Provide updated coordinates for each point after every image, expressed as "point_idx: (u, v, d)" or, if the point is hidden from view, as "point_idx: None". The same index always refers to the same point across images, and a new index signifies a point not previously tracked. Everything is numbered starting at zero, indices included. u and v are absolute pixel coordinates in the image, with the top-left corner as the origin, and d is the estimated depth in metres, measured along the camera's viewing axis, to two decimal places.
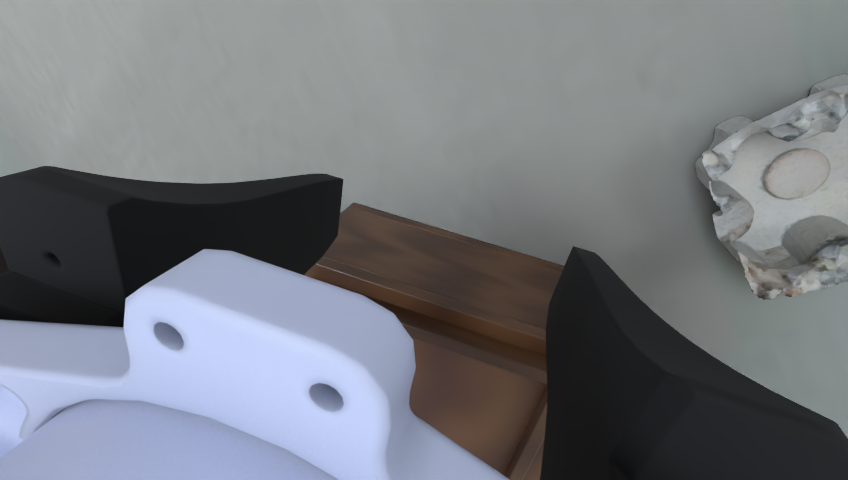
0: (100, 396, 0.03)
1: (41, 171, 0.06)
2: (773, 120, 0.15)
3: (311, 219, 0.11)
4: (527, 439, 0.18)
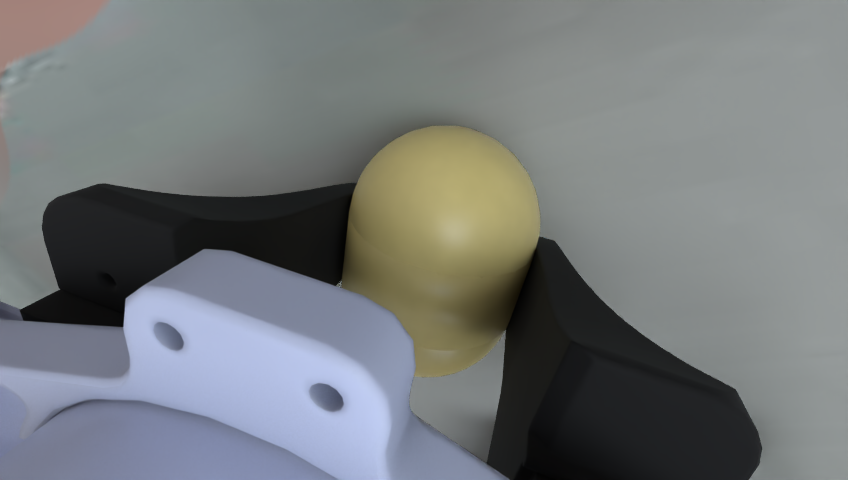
0: (100, 396, 0.03)
1: (99, 190, 0.06)
2: None
3: (345, 230, 0.11)
4: None
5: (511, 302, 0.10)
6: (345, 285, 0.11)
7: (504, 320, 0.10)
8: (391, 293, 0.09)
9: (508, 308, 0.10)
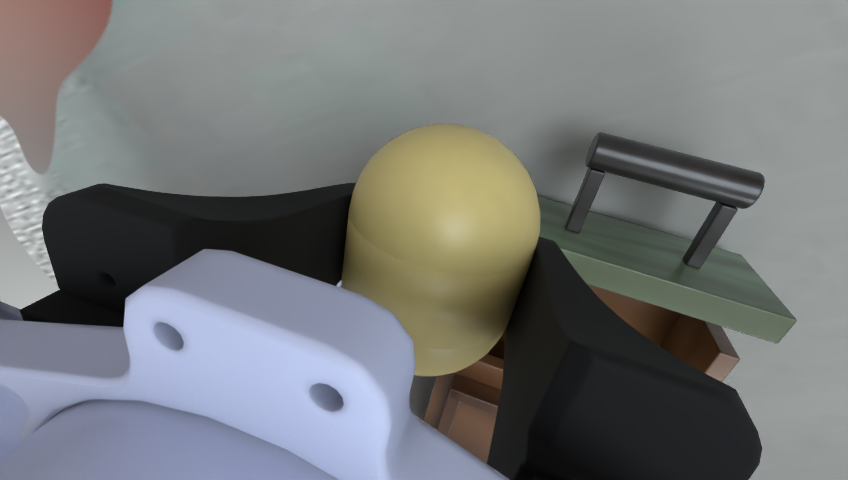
0: (100, 396, 0.03)
1: (99, 190, 0.06)
2: None
3: (345, 230, 0.11)
4: None
5: (511, 301, 0.10)
6: (345, 284, 0.11)
7: (504, 319, 0.10)
8: (391, 292, 0.09)
9: (508, 307, 0.10)
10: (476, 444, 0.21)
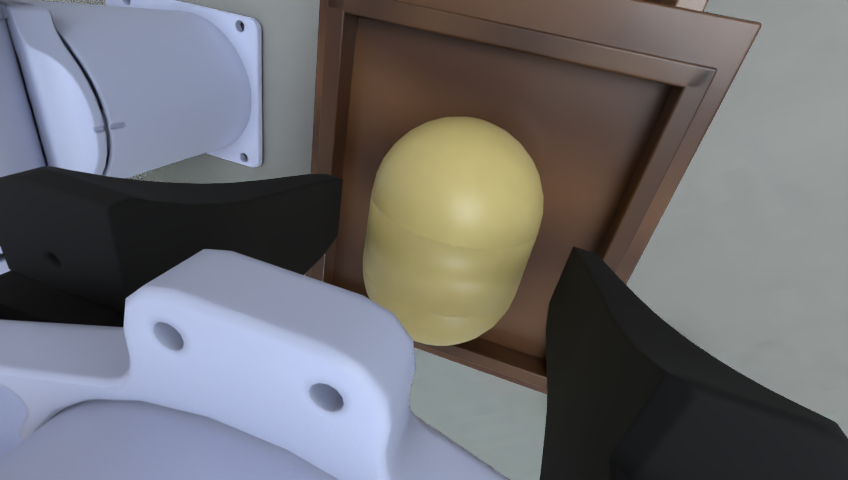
0: (100, 396, 0.03)
1: (41, 171, 0.06)
2: None
3: (311, 219, 0.11)
4: (459, 345, 0.16)
5: (517, 275, 0.11)
6: (367, 261, 0.12)
7: (511, 292, 0.12)
8: (411, 265, 0.10)
9: (514, 281, 0.11)
10: (387, 138, 0.14)
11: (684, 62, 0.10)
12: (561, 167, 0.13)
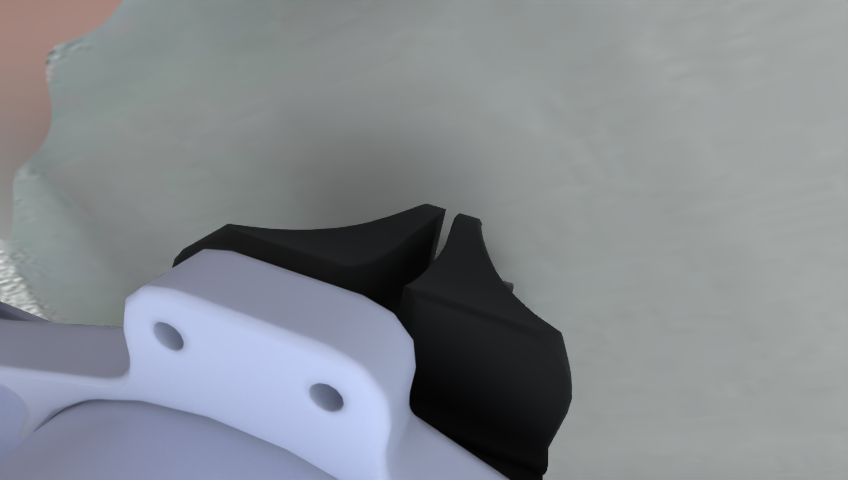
0: (100, 396, 0.03)
1: (237, 236, 0.05)
2: None
3: (423, 254, 0.11)
4: None
5: None
6: None
7: None
8: None
9: None
10: None
11: None
12: None
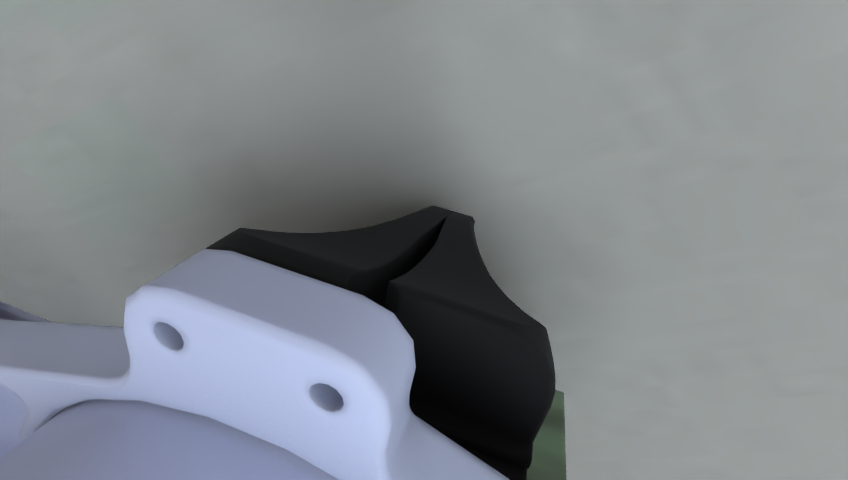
0: (100, 396, 0.03)
1: (250, 240, 0.05)
2: None
3: None
4: None
5: None
6: None
7: None
8: None
9: None
10: None
11: None
12: None
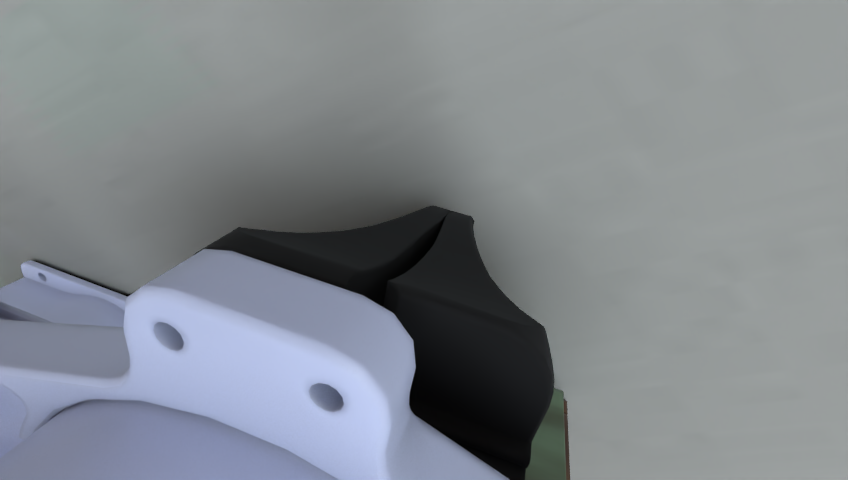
0: (100, 396, 0.03)
1: (249, 240, 0.05)
2: None
3: None
4: None
5: None
6: None
7: None
8: None
9: None
10: None
11: None
12: None
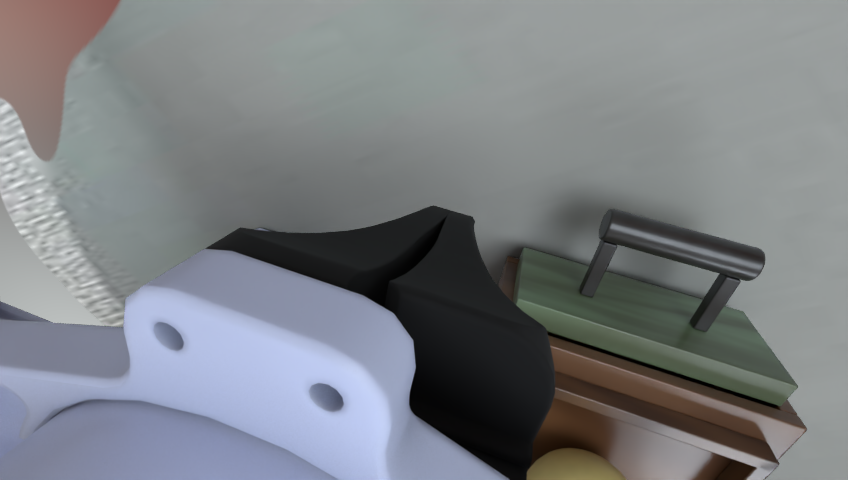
0: (100, 396, 0.03)
1: (250, 240, 0.05)
2: None
3: None
4: None
5: None
6: None
7: None
8: None
9: None
10: None
11: (757, 456, 0.16)
12: (657, 471, 0.18)
